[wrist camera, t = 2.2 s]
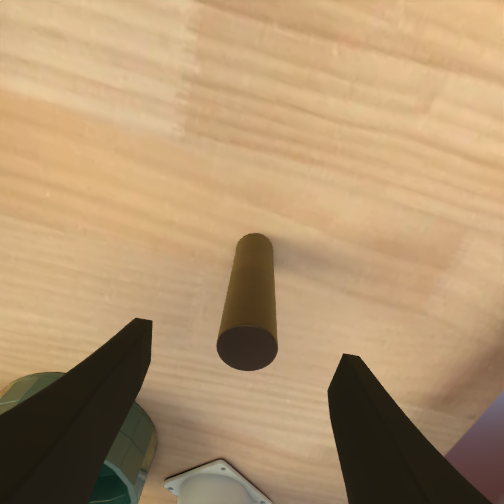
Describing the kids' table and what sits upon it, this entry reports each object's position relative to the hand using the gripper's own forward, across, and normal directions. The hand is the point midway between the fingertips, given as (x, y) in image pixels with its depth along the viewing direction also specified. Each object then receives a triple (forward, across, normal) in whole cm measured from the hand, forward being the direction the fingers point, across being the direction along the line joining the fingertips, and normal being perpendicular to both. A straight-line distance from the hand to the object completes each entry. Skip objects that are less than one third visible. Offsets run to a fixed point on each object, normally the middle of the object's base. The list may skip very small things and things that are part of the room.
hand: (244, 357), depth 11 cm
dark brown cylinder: (+9, 0, 0) cm, 9 cm away
